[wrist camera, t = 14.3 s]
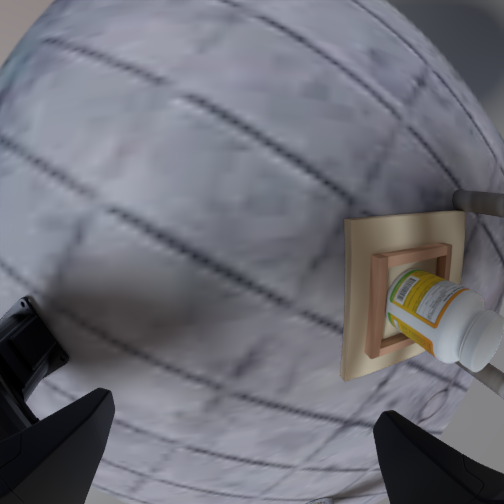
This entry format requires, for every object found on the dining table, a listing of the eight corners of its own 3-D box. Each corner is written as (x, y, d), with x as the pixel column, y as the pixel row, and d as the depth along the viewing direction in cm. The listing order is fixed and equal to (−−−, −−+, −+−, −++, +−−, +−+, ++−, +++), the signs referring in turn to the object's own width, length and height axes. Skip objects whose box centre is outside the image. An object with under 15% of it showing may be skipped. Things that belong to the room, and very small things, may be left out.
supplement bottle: (422, 319, 22) (495, 366, 12) (378, 331, 21) (454, 394, 12) (431, 264, 21) (516, 297, 11) (386, 270, 20) (480, 316, 10)
